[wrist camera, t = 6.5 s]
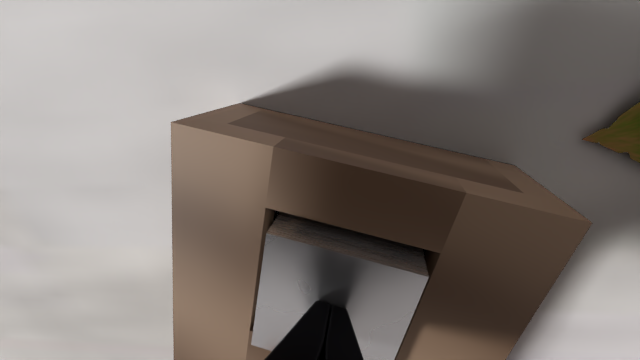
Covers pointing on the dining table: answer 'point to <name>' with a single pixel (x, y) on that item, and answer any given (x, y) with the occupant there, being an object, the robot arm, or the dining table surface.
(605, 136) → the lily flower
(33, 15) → the dining table surface
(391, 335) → the grey block
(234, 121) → the console
